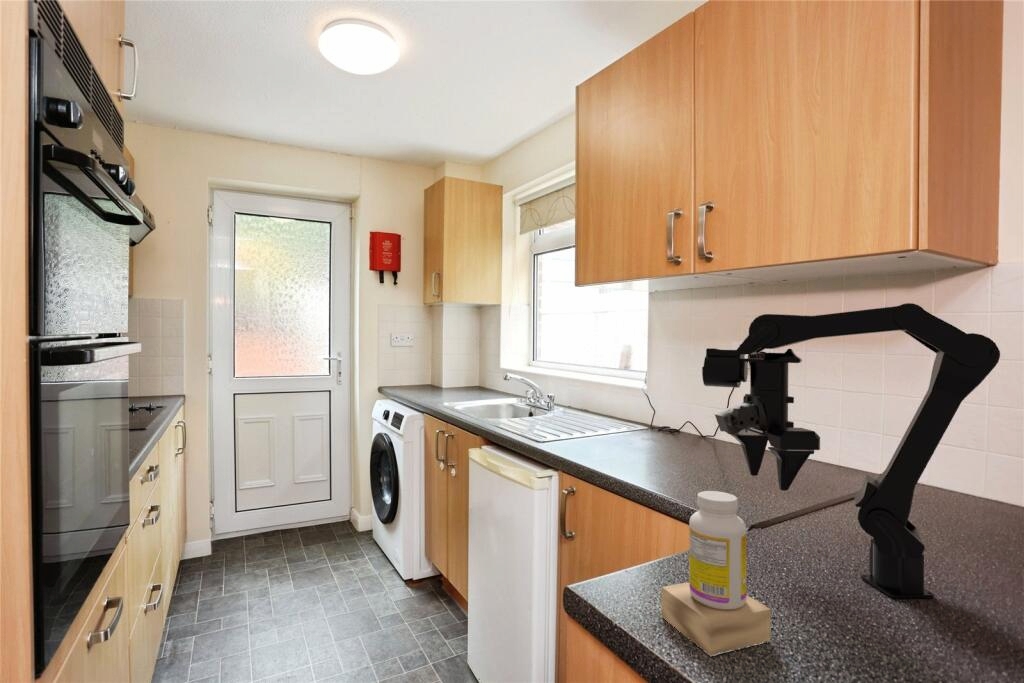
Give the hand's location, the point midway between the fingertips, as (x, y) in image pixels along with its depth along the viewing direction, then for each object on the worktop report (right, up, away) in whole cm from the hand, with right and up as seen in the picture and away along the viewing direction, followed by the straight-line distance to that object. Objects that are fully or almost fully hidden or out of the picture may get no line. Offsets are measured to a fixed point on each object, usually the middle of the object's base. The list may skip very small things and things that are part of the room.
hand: (768, 482), depth 85 cm
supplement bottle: (-17, -9, -22) cm, 29 cm away
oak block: (-18, -13, -21) cm, 30 cm away
